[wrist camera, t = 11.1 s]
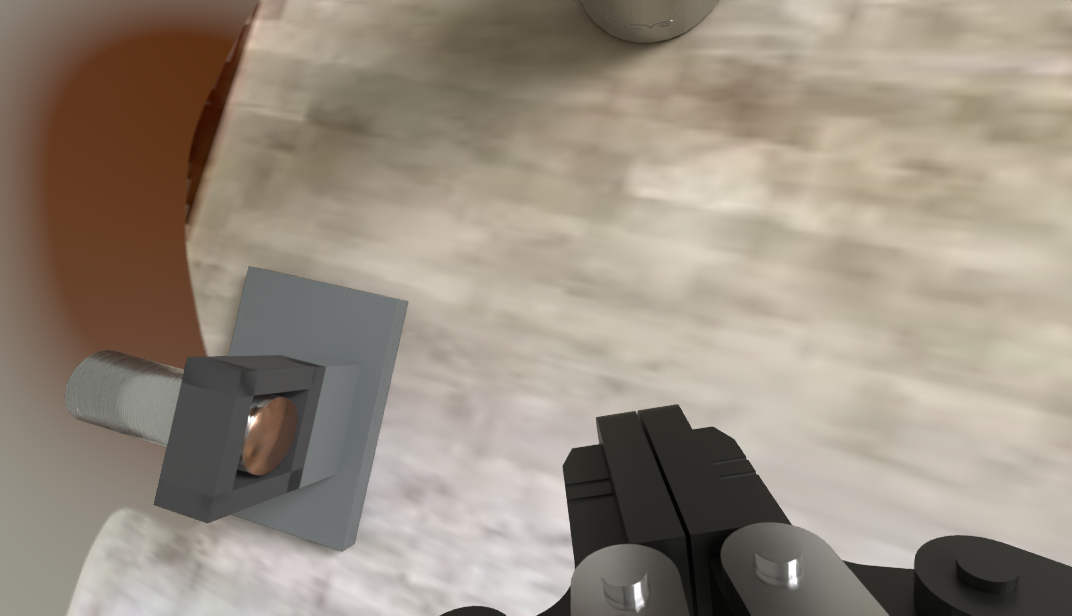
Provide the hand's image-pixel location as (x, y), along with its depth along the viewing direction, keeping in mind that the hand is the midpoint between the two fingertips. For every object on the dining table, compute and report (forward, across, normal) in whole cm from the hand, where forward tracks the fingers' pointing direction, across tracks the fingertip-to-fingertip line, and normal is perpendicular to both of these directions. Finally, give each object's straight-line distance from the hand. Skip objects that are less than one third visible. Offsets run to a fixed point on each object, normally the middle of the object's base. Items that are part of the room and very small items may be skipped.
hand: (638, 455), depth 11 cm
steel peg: (+22, +21, +6) cm, 31 cm away
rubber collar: (+22, +17, +8) cm, 29 cm away
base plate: (+28, +18, +9) cm, 34 cm away
